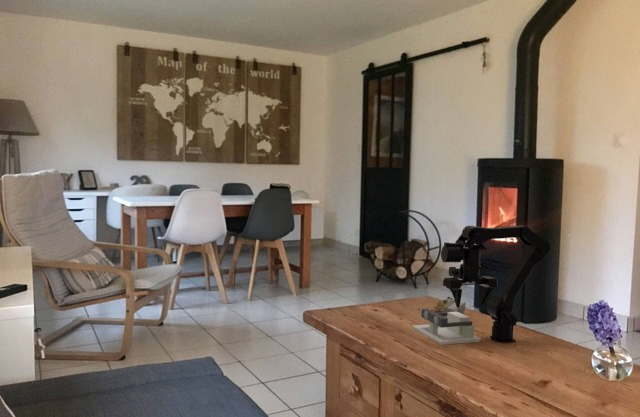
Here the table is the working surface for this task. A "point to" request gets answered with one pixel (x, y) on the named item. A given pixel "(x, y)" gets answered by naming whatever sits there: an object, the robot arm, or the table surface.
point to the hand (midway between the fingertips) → (469, 306)
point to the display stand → (449, 331)
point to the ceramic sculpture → (449, 306)
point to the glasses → (441, 319)
